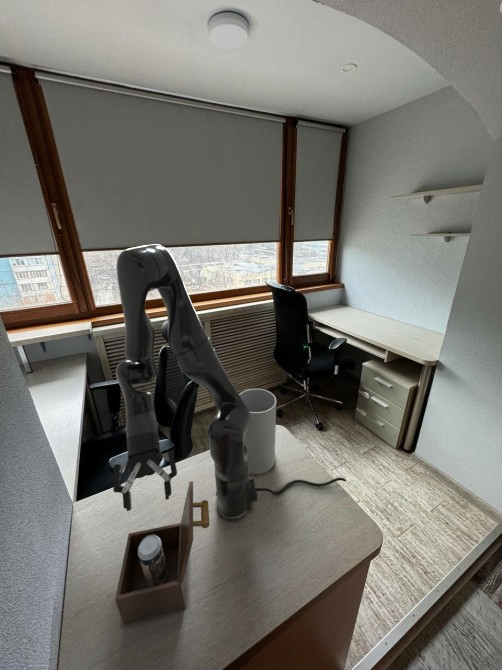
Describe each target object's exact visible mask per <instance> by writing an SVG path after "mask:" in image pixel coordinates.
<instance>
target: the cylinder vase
mask: <svg viewBox="0 0 502 670" xmlns="http://www.w3.org/2000/svg"><path fill="white" fill-rule="evenodd" d="M238 394H239V395H240V397H241V398H242V400H243V401H244V403H245V405H246V406H247V408H248V410H249V412H250V415H251V422H250V426H249V428H248V431H247V433H246V435H245V438H244V445H245V446H246V448H247V450H248V466H249V474H251V475H261V474H265V473H267V472H269V471H270V470H271V469H272V468H273V465H274V464H275V458H276V425H277V419H276V418H277V397H276V396H275V394H274V393H272V392H271V391H269V390H267V389H263V388H249V389H246V390H243V391H242V392H240V393H238Z"/></svg>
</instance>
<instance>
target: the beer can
mask: <svg viewBox="0 0 502 670" xmlns="http://www.w3.org/2000/svg"><path fill="white" fill-rule="evenodd" d="M138 556H139V559H140V563H141V567H142V570H143V574H144V577H145V581H146V585H147V586H148V587H149V588H151V587H155V586H159V585H162V584H163V583H164V582H165V580H166V578H167V574H168V571H167V567H166V563H165V558H164V553H163V549H162V544H161V539H160V538H159V537H158V536H156V535H148V536H147V537H145V538H144V539H143V540H142V542H141V544H140V545H139V548H138Z"/></svg>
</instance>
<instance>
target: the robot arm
mask: <svg viewBox="0 0 502 670" xmlns="http://www.w3.org/2000/svg"><path fill="white" fill-rule="evenodd" d="M116 278H117V285H118V290H119V296H120V303H121V308H122V314H123V319H124V350H123V351H124V352H123V353H124V356H125V358H126V359H127V360H122V361H120V362H119V363H118V364H117V366H116V369H115V377H116V380H117V382H118V384H119V387H120V389H121V392H122V396H123V398H124V404H125V417H126V422H125V433H126V449H127V461H126V462H125V463H116V464H114V466H113V489H112V490H113V492H114V493H121V494H122V502H123V503H122V504H123V505H122V507H123V509H124V510H126V512H129V511H131V510H132V509H133V508H132V507H133V506H132V494H131V491H130V489H131V488H132V486H133V484H134V483H135V481H136V479H141V478H144V477H146V476H149V477H150V476H153V475H154V474H157V475H158V476H159V477H161V479H163V480H164V482H163V485H164V496H165V500H169V499H170V497H171V496H172V486H171V480H172V479H173V478H175V477H176V476H177V475H178V470H177V465H176V459H175V454H174V451H173V450H169V451H168V452H165V453H162V452H161V447H160V446H161V445H160V437H159V436H160V435H159V426H158V420H157V419H158V418H157V417H156V416H157V415H156V410H155V399H154V395H153V393H152V392H149V391H144V390H137V389H136V388H134V386H141V385H142V386H143V385H149V384H152V383H154V382H155V381H156V379H157V377H158V368H157V364H156V361H155V357H154V349H155V340H156V330H155V327H154V324H153V322H152V320H151V319H150V317H149V316H148V313H147V312H146V301H147V297H148V293H149V292H151V291H154V290H156V289H157V291H158V294H159V295H160V297H161V299H162V301H163V304H164V306H165V310H166V315H167V341H168V342H167V343H168V348H169V350H170V352H171V355H172V356H173V359H174V360H175V362H176V364H177V366H178V367H179V369H180V371H181V372H182V374H183V375H185V376H186V377H187V378H188V379H190V380H191V381H193V382H194V383H195V384H197V385H199V386H200V387H202V388H204V390H206V391H207V393H208V394H209V395H210V397H211V399H212V402H213V403H214V405H215V408H216V412H215V414H214V416H213V417H212V418H211V420H210V422H209V424H208V426H207V442H208V449H209V453H210V457H211V459H212V461H213V466H214V476H215V477H214V478H215V489H216V490H215V491H216V492H215V497H216V505H217V506H216V507H217V510H218V513H219V514H220V516H221V517H223V518H225V519H227V520H239V519H241V518H242V517H244V516H245V515H246V514H247V513H248V512H251V510H252V503H254V502H257V501H258V493H257V492H265V493H266V492H267V493H270V494H271V495H273V496H278V495H281V494H282V493H283V492H284V491H286V489H288V488H289V487H290V486H292V485H294V484H305V485H308V486H312V487H326V486H329V485H331V484H334V483H335V482H338V481H342V482H346V481H347V479H345V478H344V477H336V478H333V479H331V480H329V481H326V482H322V483H315V482H312V481H308V480H304V479H294V480H291V481H289V482H287V484H285V485H284V486H283V487H282V488H281V489H279V490H278V491H273V490H272V489H270V488H265V487H256V484H255V479H254V478H250V473H249V466H248V450H247V448H246V446H245V445H244V438H245V435H246V433H247V431H248V428H249V426H250V422H251V415H250V412H249V410H248V408H247V406H246V405H245V403H244V401H243V400H242V398H241V397H240V395H239V394H240V393H239V392H238V391H237V389H236V388H235V386H234V383H232V381H231V379H230V377H229V375H228V373H227V372H226V369H225V367H224V365H223V364H222V362H221V360H220V358H219V356H218V354H217V351H216V349H215V347H214V345H213V344H212V341H211V339H210V337H209V335H208V333H207V331H206V330H205V328H204V326H203V323H202V322H201V319H200V318H199V315H198V314H197V310H196V309H195V307H194V305H193V303H192V300H191V298H190V295H189V293H188V291H187V289H186V286H185V283H184V280H183V278H182V274H181V273H180V269H179V268H178V265H177V263H176V260H175V259H174V257H173V255H172V254H171V252H170V251H169V250H168V249H167V248H166V247H164V246H163V245H161V244H158V243H157V244H156V243H153V244H146V245H141V246H136V247H130V248H127V249H124V250H123V251H121V252H120V254H119V255H118V257H117V260H116ZM163 459H165V461H166V462H169V467H170V473H167V472H166V471H165V470H164V469H163V468H162V467H161V463H162V461H163ZM125 469H127V470H128V471H129V472H130V475H129V476H128V478H127V479H126V482H125V484H124V485H122V474H123V473H124V472H125Z"/></svg>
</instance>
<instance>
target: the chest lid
mask: <svg viewBox="0 0 502 670" xmlns="http://www.w3.org/2000/svg"><path fill="white" fill-rule="evenodd" d="M183 506H184V507H183V510H182V515H181V520H180V523H181V536H180V562H179V583H183V579H184V575H185V571H186V572H187V567H188V562H189V558H190V555H191V552H192V551H191V550H192V546H193V542H194V527H201V528H202V529H208V528H209V527H210V510H209V501H208V500H206V499H204V500H202V501H200V502H194V481H189V482H188V487H187V491H186V496H185V501H184V505H183ZM195 508H200V520H194V509H195Z"/></svg>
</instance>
